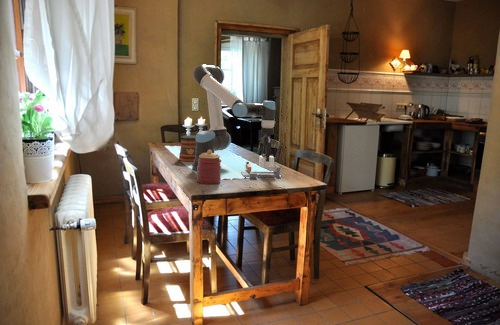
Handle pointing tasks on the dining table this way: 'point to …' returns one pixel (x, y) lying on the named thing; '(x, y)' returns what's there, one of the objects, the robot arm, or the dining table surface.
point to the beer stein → (188, 148)
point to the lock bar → (248, 167)
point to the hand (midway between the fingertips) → (265, 165)
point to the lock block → (262, 161)
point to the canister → (209, 168)
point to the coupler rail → (263, 173)
